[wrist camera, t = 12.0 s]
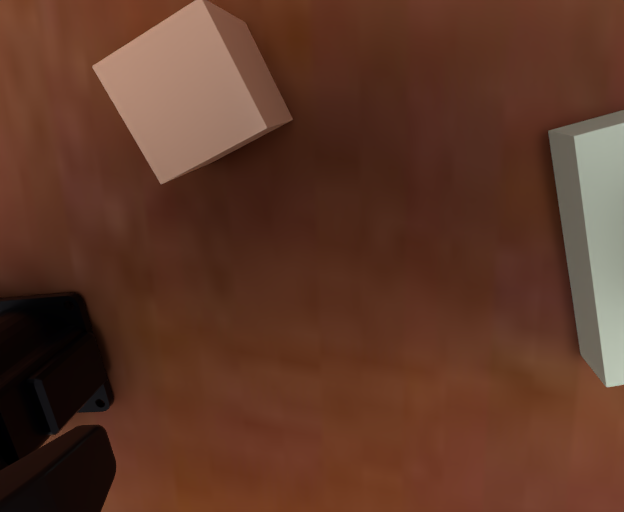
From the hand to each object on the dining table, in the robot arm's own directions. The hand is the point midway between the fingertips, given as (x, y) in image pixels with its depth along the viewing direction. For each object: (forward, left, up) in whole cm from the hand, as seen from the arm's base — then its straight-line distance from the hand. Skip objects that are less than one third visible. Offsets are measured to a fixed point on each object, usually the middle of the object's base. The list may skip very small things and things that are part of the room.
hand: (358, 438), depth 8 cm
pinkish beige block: (-5, +6, -13) cm, 15 cm away
